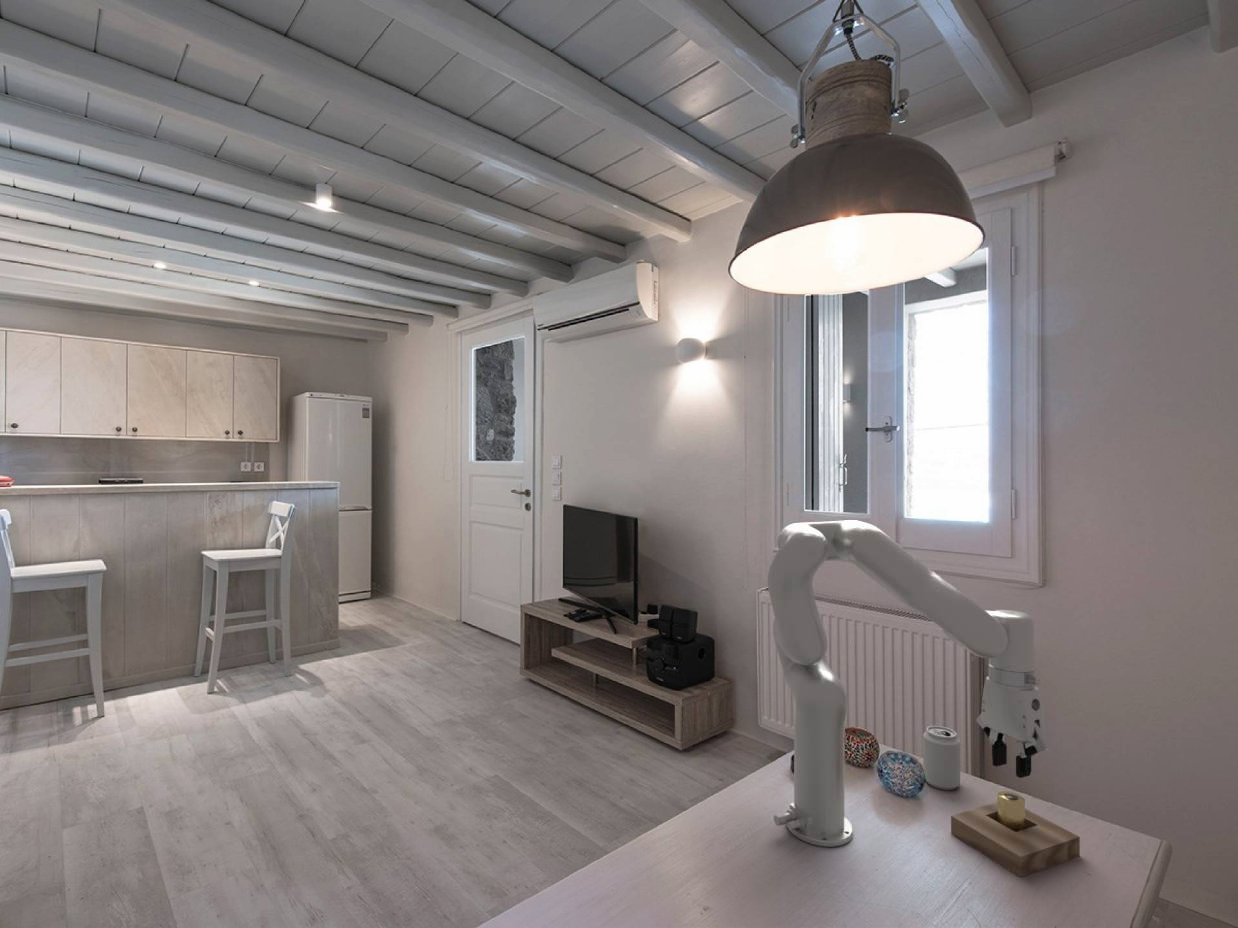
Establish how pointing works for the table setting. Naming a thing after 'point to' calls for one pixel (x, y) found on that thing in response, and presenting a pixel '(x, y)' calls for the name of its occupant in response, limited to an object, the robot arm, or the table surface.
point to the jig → (1016, 840)
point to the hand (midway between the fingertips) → (1011, 769)
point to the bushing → (1011, 810)
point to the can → (941, 757)
